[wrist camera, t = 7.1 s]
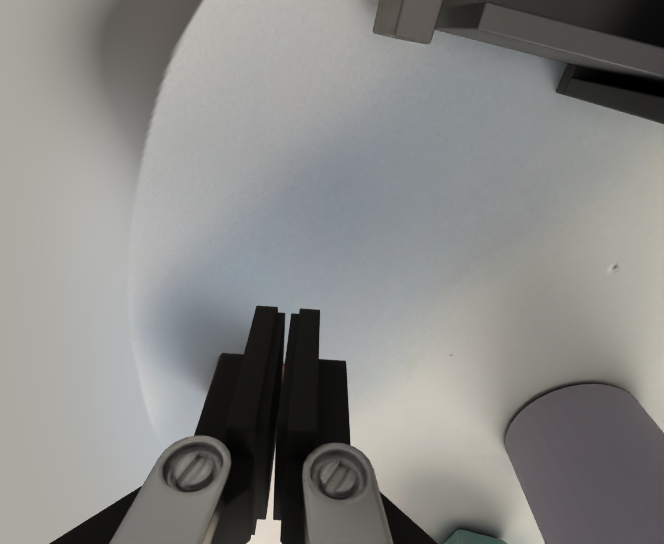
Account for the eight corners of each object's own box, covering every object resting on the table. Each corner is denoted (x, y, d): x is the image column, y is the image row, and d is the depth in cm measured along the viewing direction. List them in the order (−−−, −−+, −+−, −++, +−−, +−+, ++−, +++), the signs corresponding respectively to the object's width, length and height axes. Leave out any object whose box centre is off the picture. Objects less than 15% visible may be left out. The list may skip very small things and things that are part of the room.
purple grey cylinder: (502, 479, 37) (597, 726, 24) (504, 390, 32) (627, 643, 19) (628, 464, 36) (798, 712, 23) (651, 371, 31) (885, 620, 18)
